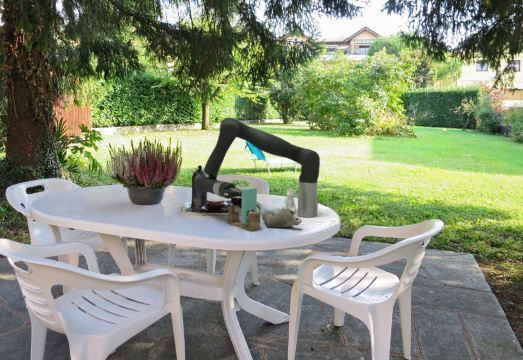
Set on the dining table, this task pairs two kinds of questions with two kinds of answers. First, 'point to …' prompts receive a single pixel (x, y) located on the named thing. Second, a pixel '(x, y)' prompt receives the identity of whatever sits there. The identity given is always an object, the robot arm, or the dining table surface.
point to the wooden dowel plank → (234, 220)
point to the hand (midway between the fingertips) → (247, 195)
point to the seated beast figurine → (289, 201)
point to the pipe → (281, 218)
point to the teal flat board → (248, 203)
